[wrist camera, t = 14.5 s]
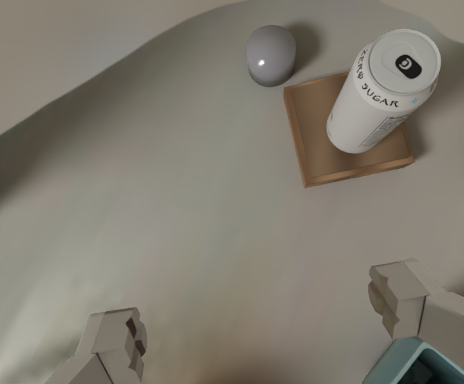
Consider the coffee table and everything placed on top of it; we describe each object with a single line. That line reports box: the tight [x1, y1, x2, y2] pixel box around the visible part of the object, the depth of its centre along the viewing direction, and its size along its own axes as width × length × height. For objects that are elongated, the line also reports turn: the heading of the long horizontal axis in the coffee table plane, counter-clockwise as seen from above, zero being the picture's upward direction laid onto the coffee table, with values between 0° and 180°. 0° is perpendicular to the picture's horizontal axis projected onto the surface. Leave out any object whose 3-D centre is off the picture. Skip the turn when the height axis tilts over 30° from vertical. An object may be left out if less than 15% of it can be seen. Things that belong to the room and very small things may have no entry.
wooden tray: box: [284, 72, 415, 188], centre depth 39 cm, size 12×12×4 cm
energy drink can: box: [326, 29, 441, 153], centre depth 30 cm, size 6×6×15 cm
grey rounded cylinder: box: [246, 25, 296, 87], centre depth 42 cm, size 6×6×4 cm
